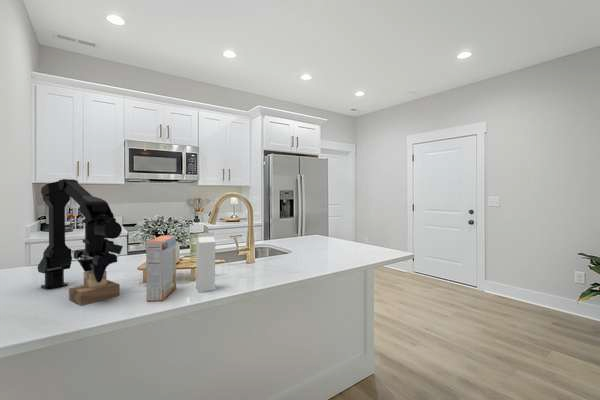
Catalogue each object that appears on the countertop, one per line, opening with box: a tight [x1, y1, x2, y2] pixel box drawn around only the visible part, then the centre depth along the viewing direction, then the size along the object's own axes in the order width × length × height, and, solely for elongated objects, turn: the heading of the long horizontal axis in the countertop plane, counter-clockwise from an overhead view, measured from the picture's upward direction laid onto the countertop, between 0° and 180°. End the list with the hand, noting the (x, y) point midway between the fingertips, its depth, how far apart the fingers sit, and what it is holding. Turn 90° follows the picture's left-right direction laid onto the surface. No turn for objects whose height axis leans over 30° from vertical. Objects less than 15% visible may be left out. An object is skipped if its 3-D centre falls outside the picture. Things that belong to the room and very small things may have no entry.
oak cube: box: [83, 270, 107, 289], centre depth 103 cm, size 5×5×5 cm
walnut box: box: [68, 279, 121, 306], centre depth 103 cm, size 9×12×4 cm
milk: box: [195, 232, 216, 294], centre depth 114 cm, size 6×6×22 cm
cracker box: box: [145, 234, 177, 302], centre depth 107 cm, size 14×6×21 cm, turn 5°
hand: (94, 280), depth 103 cm, fingers open, 6 cm apart
